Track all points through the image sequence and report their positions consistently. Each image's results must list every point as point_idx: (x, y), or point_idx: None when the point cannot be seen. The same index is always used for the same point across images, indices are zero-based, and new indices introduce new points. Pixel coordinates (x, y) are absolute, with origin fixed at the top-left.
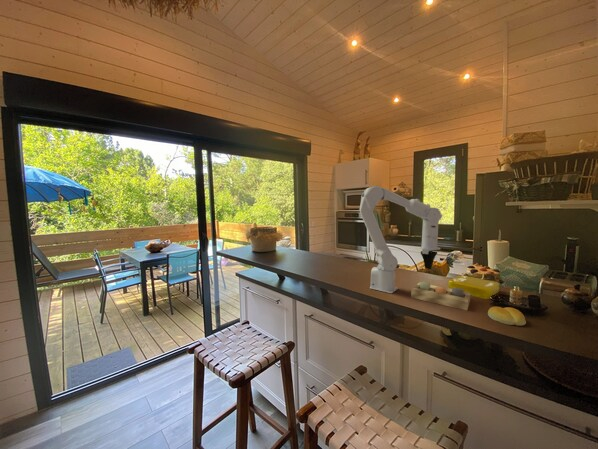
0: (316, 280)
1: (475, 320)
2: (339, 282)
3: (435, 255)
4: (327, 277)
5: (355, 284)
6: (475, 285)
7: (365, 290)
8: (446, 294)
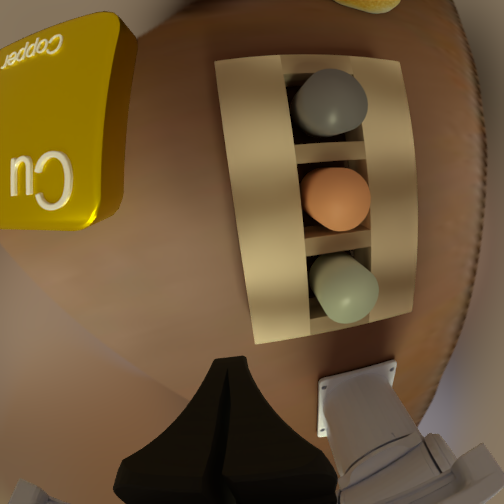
0: None
1: (438, 56)
2: None
3: (192, 454)
4: None
5: None
6: (82, 77)
7: None
8: (372, 157)
